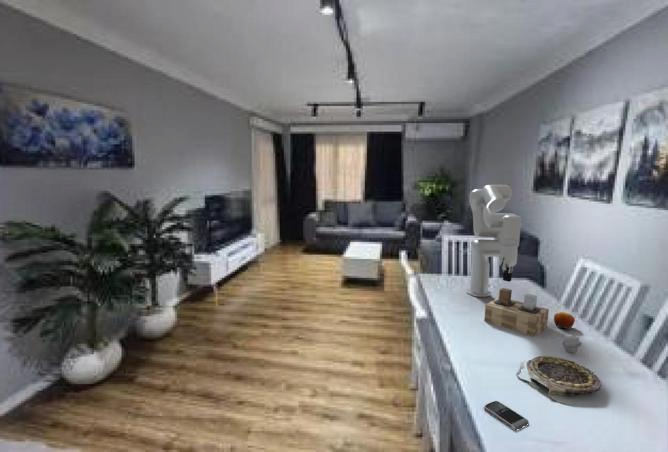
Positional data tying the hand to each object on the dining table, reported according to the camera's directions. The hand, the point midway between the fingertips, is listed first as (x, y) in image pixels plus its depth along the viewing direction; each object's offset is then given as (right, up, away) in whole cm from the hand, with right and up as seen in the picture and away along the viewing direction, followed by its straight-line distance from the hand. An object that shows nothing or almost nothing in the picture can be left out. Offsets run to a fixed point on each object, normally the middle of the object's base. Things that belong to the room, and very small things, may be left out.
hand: (507, 280), depth 171 cm
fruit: (+24, -21, -4) cm, 32 cm away
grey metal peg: (+7, -14, -5) cm, 17 cm away
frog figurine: (+12, -24, -27) cm, 38 cm away
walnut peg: (0, -13, +3) cm, 13 cm away
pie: (-4, -28, -48) cm, 55 cm away
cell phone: (-31, -30, -65) cm, 78 cm away
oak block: (+4, -20, 0) cm, 20 cm away
